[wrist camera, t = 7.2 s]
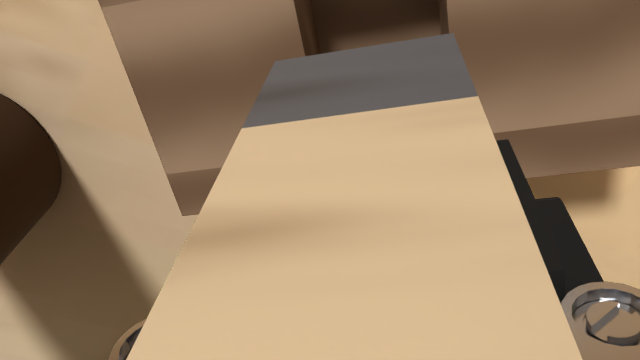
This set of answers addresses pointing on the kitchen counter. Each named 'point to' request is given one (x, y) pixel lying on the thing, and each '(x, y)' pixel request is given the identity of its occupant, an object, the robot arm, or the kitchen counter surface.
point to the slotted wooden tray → (381, 28)
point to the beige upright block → (362, 226)
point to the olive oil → (23, 174)
